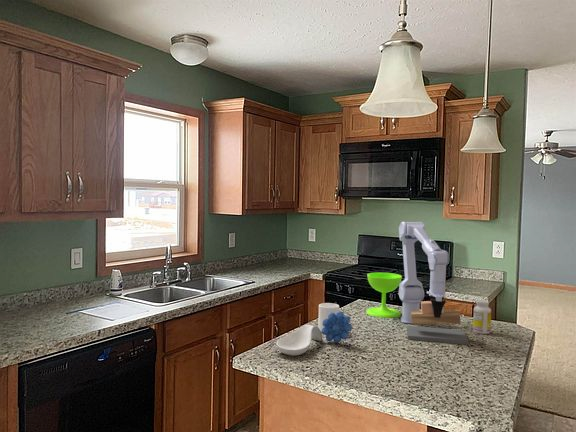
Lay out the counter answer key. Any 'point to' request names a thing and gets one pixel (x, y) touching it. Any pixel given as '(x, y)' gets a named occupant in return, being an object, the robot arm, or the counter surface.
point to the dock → (436, 335)
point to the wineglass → (384, 293)
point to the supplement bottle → (482, 317)
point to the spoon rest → (299, 340)
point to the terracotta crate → (426, 307)
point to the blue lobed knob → (336, 327)
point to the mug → (326, 312)
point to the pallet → (445, 318)
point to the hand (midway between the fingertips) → (436, 315)
